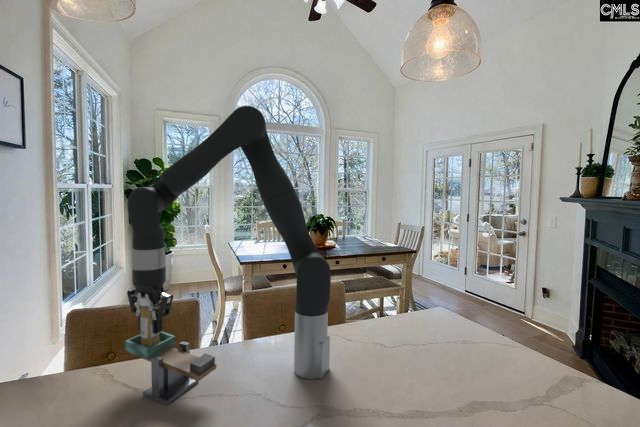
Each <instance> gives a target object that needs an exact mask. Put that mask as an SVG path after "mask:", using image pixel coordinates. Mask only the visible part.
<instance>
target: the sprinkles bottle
mask: <svg viewBox="0 0 640 427" xmlns="http://www.w3.org/2000/svg"><path fill="white" fill-rule="evenodd" d="M159 303H160V302H159ZM159 303H158V304H155V305H153V306H154V307H156V306H158V305H159ZM140 306H141V316H140V323H141V330H140V334H141V345H142V346H145V347H147V348H150V347H152V346H154V345H156V344H158V343H160V342H161V341H159V333H160V332H159V333H157V334H153V317H152V313H151V311H149V308H148V306H149V301H148V300H146V299H145V297H142V298H140ZM156 312H157V314H158V313H159V312H158V309H157V310H156Z"/></svg>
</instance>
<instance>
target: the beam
mask: <svg viewBox="0 0 640 427" xmlns="http://www.w3.org/2000/svg"><path fill="white" fill-rule="evenodd" d="M159 342H160V343H158V344H156V345H154V346H152V347H150V348H147V347H145V346H142V345H141V333H140V334H137V335H133V337H130V338H128V339H126V340H124V351H125V352H127V353H128V354H130V355H133V356H136V357H138V358H141V359H142V360H144V361H148V362H150V363H151V358H153V357H155V356H157V357H161V358H163V367H164V368H167V369H169V370H172V371H174V372H176V373H179V374H181V375H184V376H186V377H189V378H191V379H193V380H196V381H199V382H200V381H202V380H203V379H204V378H205V377H207V376H208V375H210V374H211V373H212V372H213V371H215V370H216V369H217V363H215V362H216V360H215V359H216V356H214V355H210V354H208V353H203V354H202V355H200V356H196V355H194V354H191V353H190V354H189V353H186V352H184V351H181V350H179V348H175V347H174V346H176V335H173V334H171V333H168V332H165V331H163V330H162V331H161V332H160V333H159Z"/></svg>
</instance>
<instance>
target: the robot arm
mask: <svg viewBox="0 0 640 427" xmlns="http://www.w3.org/2000/svg"><path fill="white" fill-rule="evenodd" d="M239 148H240V149H241V150H242V151H243V153H244V155H245V158H246V159H247V161H248V164H250V167H251V170H252V173H253V176H254V180H255V184H256V188H257V190H258V193H259V196H260V199H261V201H262V204H263V205H264V208H265V209H266V212H267V214H268V216H269V219H270V220H271V222H272V224H273V226H274V227H275V229H276V231H277V232H278V234H279V235H280V237H281V238H282V239H283V242H284V244H285V245H286V248H287V250H288V253H289V256H290V259H291V263H292V266H293V270H294V273H295V276H296V292H295V293H296V294H295V295H296V296H295V302H294V347H293V348H294V351H293V352H294V355H293V357H294V360H293V362H294V363H293V367H294V368H293V369H294V370H293V371H294V373H295V375H297V377H299V378H302V379H307V380H315V379H320V380H322V379H323V378H324V377H325V375H326V373H327V372H328V371H329V369H330V355H331V354H330V350H331V348H330V347H331V343H330V342H331V336H330V335H328V329H329V328H328V327H329V326H328V324H329V321H328V318H329V317H328V316H329V314H328V313H329V304H330V300H331V285H332V283H331V280H332V278H331V276H332V275H331V273H332V271H331V266H330V263H329V262H328V261H327V260H326V259H325V258H324V256H323V255H322V254H321V253H320V252H319V249H318V248H317V247H316V244H315V243H314V241H313V239H312V237H311V235H310V232H309V230H308V226H307V221H306V217H305V214H304V211H303V207H302V204H301V201H300V198H299V197H298V195H297V192H296V189H295V187H294V185H293V183H292V181H291V180H290V177H289V176H288V174H287V172H286V171H285V169H284V168H283V166H282V164H280V162H279V160H278V158H277V156H276V154H275V152H274V149H273V147H272V144H271V140H270V138H269V135H268V131H267V125H266V119H265V116H264V114H263V113H262V112H261V110H260V109H258V107H257V108H256V107H255V106H252V105H240V106H239V107H236V108H235V109H234V110H233V111H232V112H231V113H230V115H229V116H227V118H225V119H224V121H222V123H221V124H220V125H219V126H218V127H217V128H216V129H215V130H213V132H212V133H211V134H210V135H209V136H208V137H207V138H205V139H204V140H203V141H202V142H200V143H199V144H198V145H196V147H194V148H193V149H192V150H190V151H189V152H188V153H186V154H184V156H183V155H182V157H180V158H179V159H178V160H176V161H175V162H173V163H172V164H171V165H169V167H168V168H166V169H165V170H163V172H161V174H160V178H159V179H157V180H156V181H155V182H154V183H152V184H151V185H149V186H140V187H137V188H134V189H133V190H132V191H131V192H130V194H129V195H128V198H127V212H128V217H129V222H130V226H131V228H132V248H133V249H132V258H131V261H132V262H131V264H132V265H131V267H132V268H131V269H132V271H131V272H132V286H133V287H135V288H132V289H129V290H127V292H126V294H127V298H128V302H129V307H130V312H131V313H132V314H134V313H135V315H136V316H137V326H138V330H139V331H141V323H140V316H141V306H140V298H142V297H145V299H146V300H148V301H149V306H148V308H149V311H151V313H152V317H153V334H157V333H159V332H161V331H162V332H163V326H164V325H163V318H166V317H169V316H170V312H171V308H172V304H173V300H174V295H173V293H169V294H167V293H165V290H164V285H165V283H166V281H167V278H166V277H167V276H166V275H167V272H166V271H167V268H166V267H167V266H166V265H167V264H166V262H167V260H166V258H167V257H166V251H165V230H164V227H163V226H162V225H161V224H160V216H159V213H162V212H163V211H164V210H166V209H167V208H169V206H170V205H171V204H173V203H174V202H175V201H176V200H177V199H178V198H179V197H180V196H181V195H182V194H183V193H185V192H186V191H188V190H189V189H190V188H192V187H193V186H195V185H196V184H197V183H199V182H200V181H201V180H202V179H203V178H204V177H205V176H207V175H208V174H209V173H210V172H211V171H212V169H213V168H215V167H216V165H218V164H219V163H220V162H221V161H222V160H223V159H224V158H225V157H227V156H228V155H230V154H231V153H232V152H234V151H236V150H237V149H239ZM159 302H160V303H159ZM158 303H159V305H158V306H156V307H154V306H153V305H155V304H158ZM157 309H158V312H159V313H158V314H157V312H156V310H157Z"/></svg>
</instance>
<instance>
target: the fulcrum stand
mask: <svg viewBox="0 0 640 427" xmlns="http://www.w3.org/2000/svg"><path fill="white" fill-rule="evenodd" d="M190 346H191V345H190V342H186V341H181V342H179V343H178V350H181V351H184V352H186V353H189V354H191V352H190V349H191V347H190ZM150 363H151V368H150V369H151V386H150V387H149V388H147V389H146V390H144V391H142V397H143V398H146V399H150V400H151V401H155V402H158V403H161V404H163V405H166V406H168V405H170V404H171V403H173V402H174V401H175V400H176V399H178V398H180V396H182V395H183V394H185V392H187V391H189V390H190V389H191V388H192V387H194V386H195V385H197V384H198V383H199V382H200V381H196V380H193V379H191V378H189V377H186V376H184V375H181V374H179V373H176V372H174V371H172V370H169V369H167V368H164V367H163V358H161V357H157V356H155V357H153V358H151V362H150Z"/></svg>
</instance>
